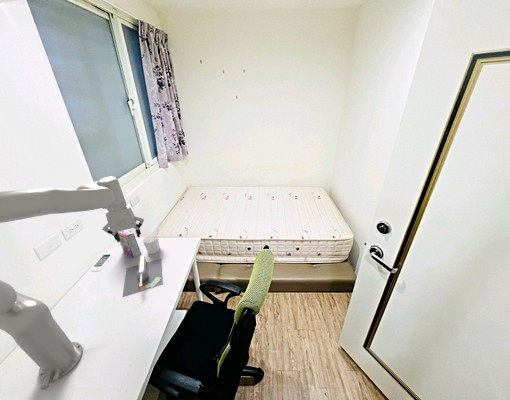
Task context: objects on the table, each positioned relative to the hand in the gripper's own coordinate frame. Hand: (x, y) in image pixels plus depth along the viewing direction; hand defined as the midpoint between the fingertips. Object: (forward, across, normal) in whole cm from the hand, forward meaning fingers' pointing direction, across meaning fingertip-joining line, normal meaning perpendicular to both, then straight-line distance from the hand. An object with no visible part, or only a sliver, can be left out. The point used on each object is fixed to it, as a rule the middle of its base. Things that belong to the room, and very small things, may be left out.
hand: (129, 238), depth 103 cm
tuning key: (+24, 0, 0) cm, 24 cm away
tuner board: (+26, 0, 0) cm, 26 cm away
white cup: (+26, +5, +20) cm, 33 cm away
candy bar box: (+26, -7, +23) cm, 36 cm away
